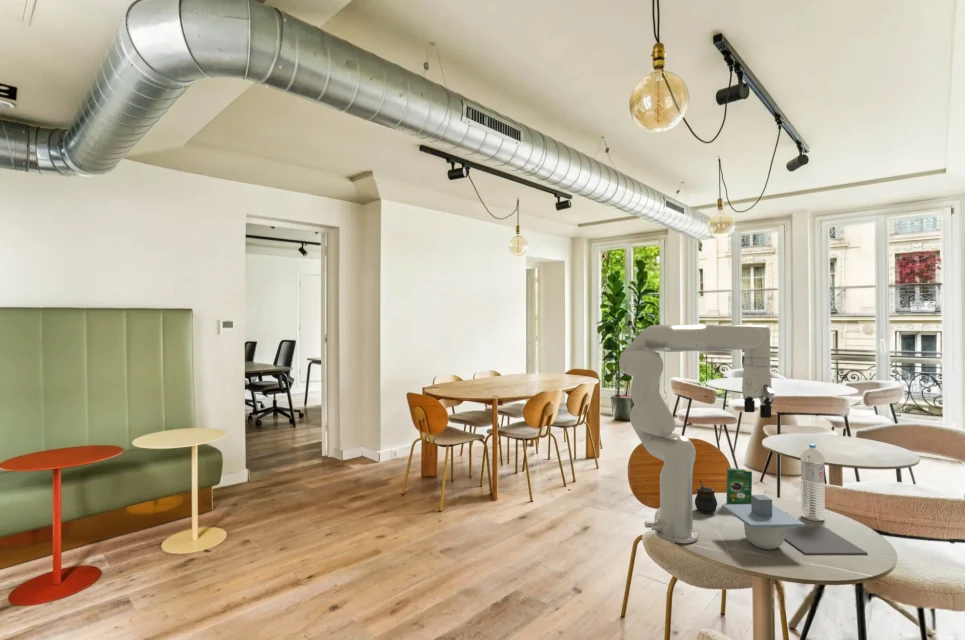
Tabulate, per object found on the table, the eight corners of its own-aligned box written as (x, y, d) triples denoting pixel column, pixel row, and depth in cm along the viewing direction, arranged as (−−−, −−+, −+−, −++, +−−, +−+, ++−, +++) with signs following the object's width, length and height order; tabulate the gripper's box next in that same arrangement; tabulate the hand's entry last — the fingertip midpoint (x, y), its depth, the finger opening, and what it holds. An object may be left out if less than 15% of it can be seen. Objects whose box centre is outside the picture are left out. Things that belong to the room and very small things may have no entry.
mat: (804, 554, 144) (804, 552, 144) (769, 528, 162) (769, 527, 162) (867, 554, 144) (867, 552, 144) (824, 528, 162) (824, 527, 162)
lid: (751, 527, 143) (750, 507, 143) (722, 507, 159) (722, 488, 159) (805, 526, 144) (805, 506, 144) (771, 506, 160) (771, 488, 160)
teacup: (791, 554, 144) (790, 526, 144) (750, 551, 146) (750, 524, 146) (772, 534, 158) (772, 509, 158) (735, 531, 160) (735, 506, 160)
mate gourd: (703, 516, 172) (703, 487, 172) (689, 508, 180) (689, 480, 180) (721, 514, 174) (721, 485, 174) (707, 507, 181) (706, 479, 182)
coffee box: (750, 504, 183) (750, 468, 183) (752, 507, 180) (752, 471, 180) (726, 502, 185) (726, 467, 185) (728, 505, 183) (727, 469, 183)
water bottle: (814, 522, 167) (813, 447, 167) (796, 515, 173) (795, 443, 173) (829, 520, 168) (829, 446, 169) (811, 513, 175) (811, 441, 175)
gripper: (732, 360, 174) (732, 410, 174) (760, 365, 157) (760, 419, 156) (754, 360, 174) (754, 410, 174) (784, 365, 156) (784, 419, 156)
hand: (757, 414), depth 165 cm, fingers open, 9 cm apart
